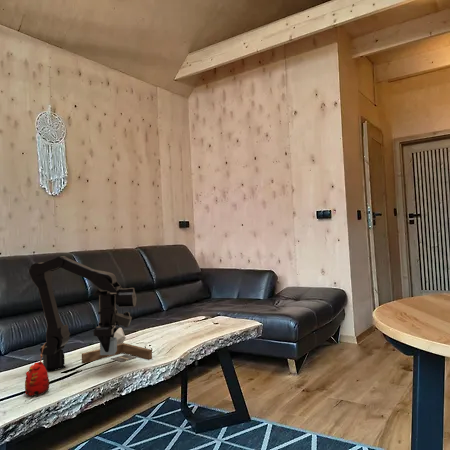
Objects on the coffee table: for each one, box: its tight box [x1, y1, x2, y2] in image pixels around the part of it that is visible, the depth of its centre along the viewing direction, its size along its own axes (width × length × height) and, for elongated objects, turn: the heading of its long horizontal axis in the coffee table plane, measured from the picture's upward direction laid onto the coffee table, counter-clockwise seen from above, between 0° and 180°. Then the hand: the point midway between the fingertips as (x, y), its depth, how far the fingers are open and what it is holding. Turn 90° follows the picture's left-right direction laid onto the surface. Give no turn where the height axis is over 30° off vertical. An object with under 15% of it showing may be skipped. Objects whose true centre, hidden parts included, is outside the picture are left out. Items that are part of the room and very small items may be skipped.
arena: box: [81, 342, 153, 364], centre depth 160 cm, size 19×19×4 cm
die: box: [114, 327, 127, 345], centre depth 183 cm, size 8×9×10 cm
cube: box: [99, 337, 117, 356], centre depth 153 cm, size 5×5×5 cm
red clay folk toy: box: [24, 342, 50, 397], centre depth 129 cm, size 8×7×15 cm
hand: (108, 350), depth 153 cm, fingers closed on cube, 5 cm apart
